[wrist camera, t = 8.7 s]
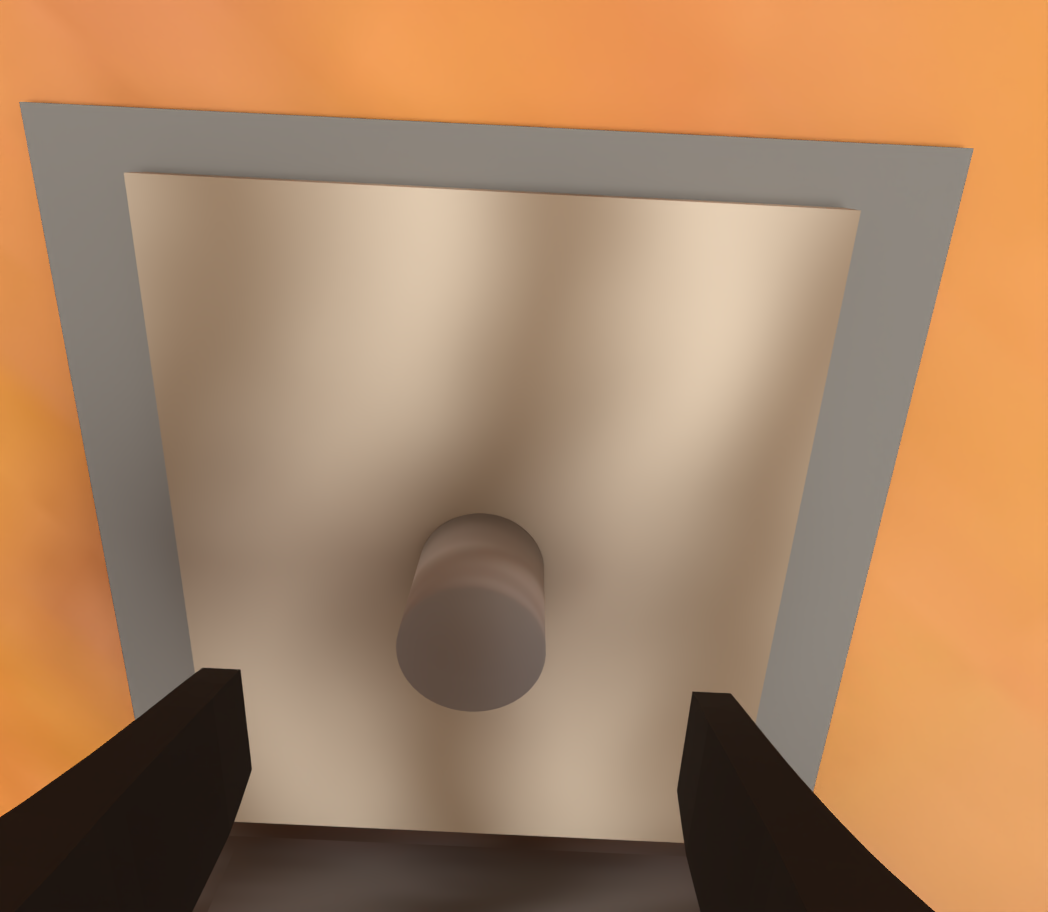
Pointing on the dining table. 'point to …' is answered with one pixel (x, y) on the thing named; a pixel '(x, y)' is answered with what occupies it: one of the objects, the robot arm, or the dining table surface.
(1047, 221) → the dining table surface
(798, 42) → the dining table surface
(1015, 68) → the dining table surface
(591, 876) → the slide box
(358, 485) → the cover plate
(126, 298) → the mat
